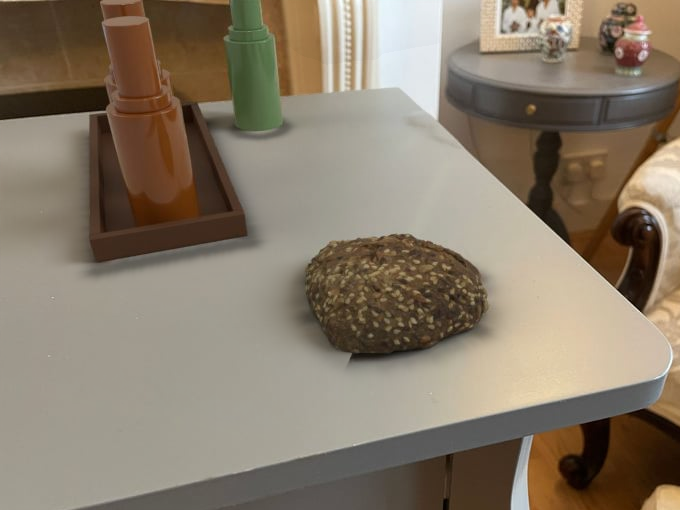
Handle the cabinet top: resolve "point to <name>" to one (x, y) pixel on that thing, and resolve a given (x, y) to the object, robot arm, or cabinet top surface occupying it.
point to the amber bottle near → (148, 128)
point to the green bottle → (252, 68)
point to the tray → (127, 241)
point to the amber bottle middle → (120, 4)
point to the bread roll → (393, 293)
